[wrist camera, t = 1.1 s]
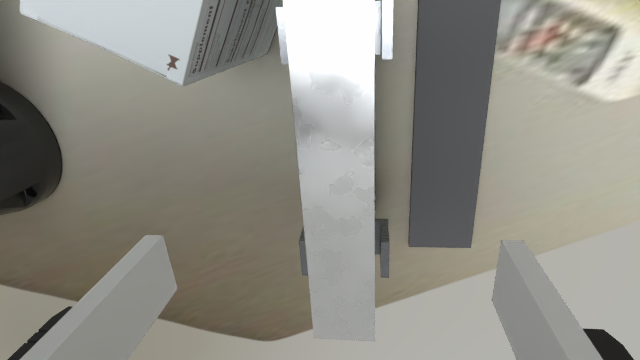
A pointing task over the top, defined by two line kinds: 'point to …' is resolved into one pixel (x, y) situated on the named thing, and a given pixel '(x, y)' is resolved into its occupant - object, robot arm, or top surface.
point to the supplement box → (167, 31)
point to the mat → (450, 117)
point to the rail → (335, 158)
